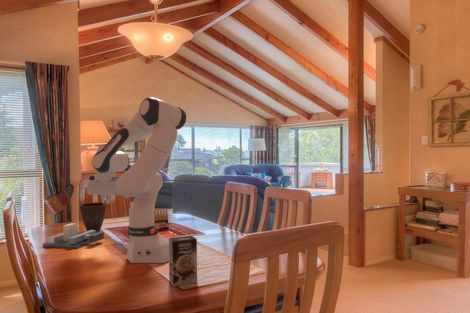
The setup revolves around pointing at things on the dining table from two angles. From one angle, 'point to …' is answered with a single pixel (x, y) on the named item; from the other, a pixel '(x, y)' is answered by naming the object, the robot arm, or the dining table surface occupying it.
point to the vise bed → (63, 242)
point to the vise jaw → (87, 237)
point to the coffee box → (182, 260)
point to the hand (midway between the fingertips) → (106, 203)
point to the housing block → (69, 231)
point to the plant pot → (93, 215)
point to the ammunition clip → (163, 217)
